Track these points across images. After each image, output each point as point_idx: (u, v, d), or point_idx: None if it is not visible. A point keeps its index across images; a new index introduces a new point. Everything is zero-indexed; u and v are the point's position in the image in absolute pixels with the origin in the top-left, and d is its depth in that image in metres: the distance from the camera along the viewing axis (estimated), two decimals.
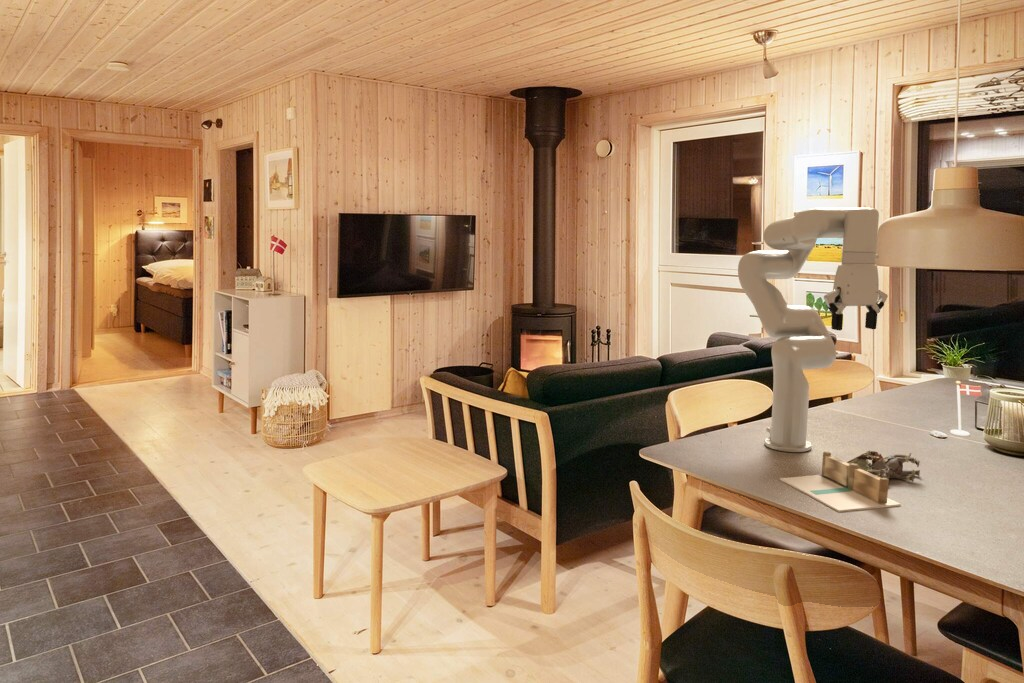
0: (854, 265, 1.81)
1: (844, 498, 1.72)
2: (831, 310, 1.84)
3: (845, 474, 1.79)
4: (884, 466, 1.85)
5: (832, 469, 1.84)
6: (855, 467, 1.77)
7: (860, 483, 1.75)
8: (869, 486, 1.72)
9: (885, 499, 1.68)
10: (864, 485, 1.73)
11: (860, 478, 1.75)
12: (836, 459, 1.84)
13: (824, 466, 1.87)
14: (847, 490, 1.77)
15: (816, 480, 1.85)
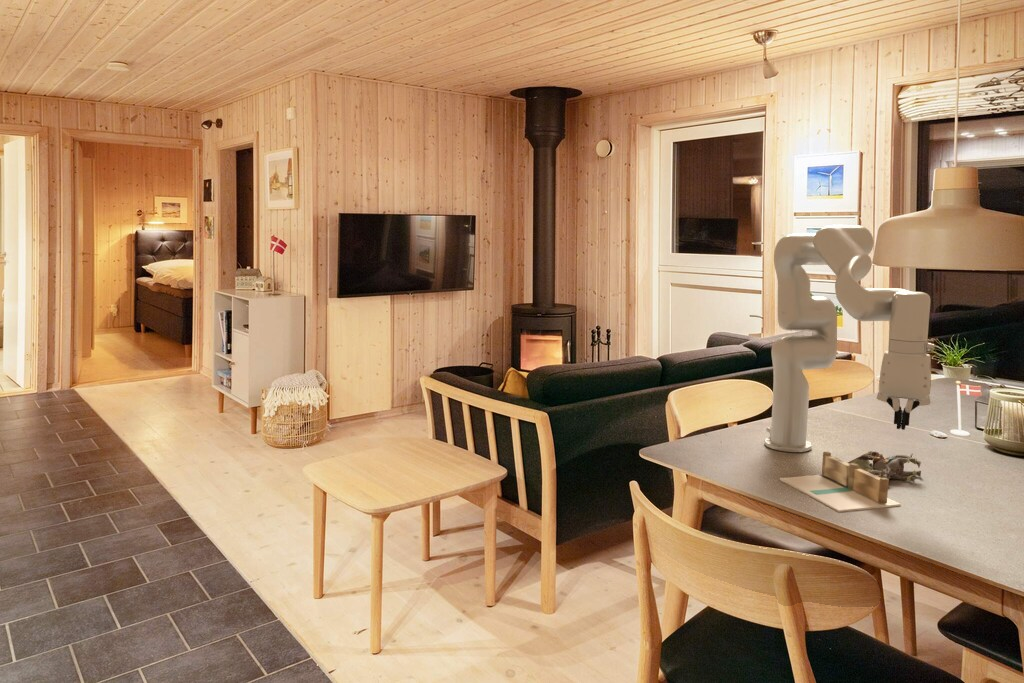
0: (891, 353, 1.67)
1: (844, 498, 1.72)
2: None
3: (845, 474, 1.79)
4: (885, 466, 1.85)
5: (832, 469, 1.84)
6: (855, 467, 1.77)
7: (860, 483, 1.75)
8: (869, 486, 1.72)
9: (885, 499, 1.68)
10: (864, 485, 1.73)
11: (860, 478, 1.75)
12: (836, 459, 1.84)
13: (824, 466, 1.87)
14: (847, 490, 1.77)
15: (816, 480, 1.85)
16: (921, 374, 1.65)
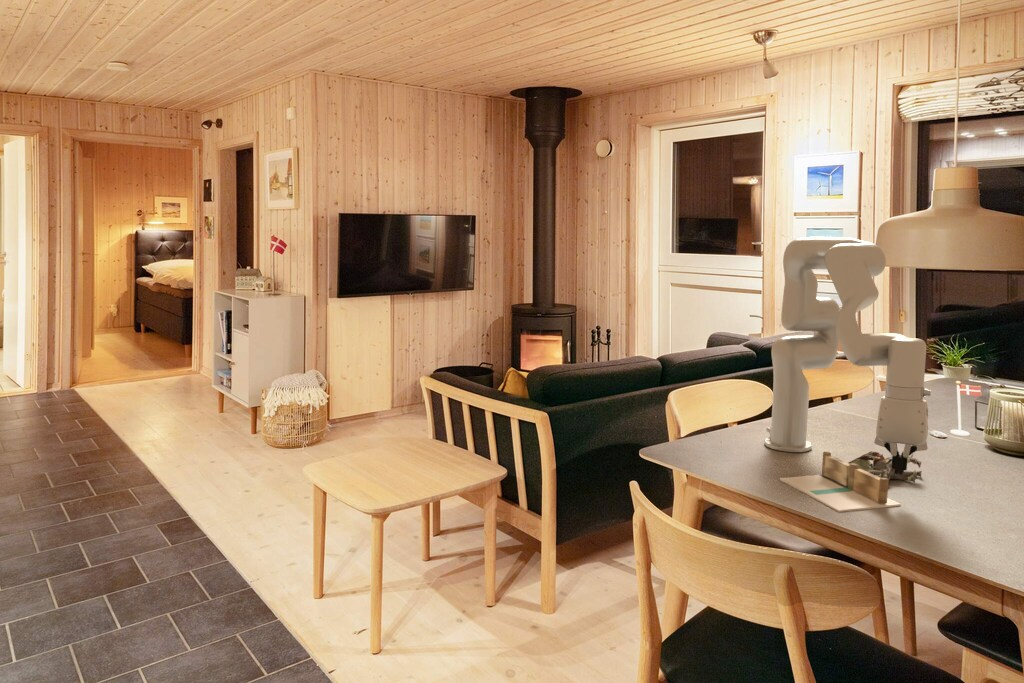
0: (888, 399, 1.69)
1: (844, 498, 1.72)
2: None
3: (845, 474, 1.79)
4: (885, 467, 1.85)
5: (832, 469, 1.84)
6: (855, 467, 1.77)
7: (860, 483, 1.75)
8: (869, 486, 1.72)
9: (885, 499, 1.68)
10: (864, 485, 1.73)
11: (860, 478, 1.75)
12: (836, 459, 1.84)
13: (824, 466, 1.87)
14: (847, 490, 1.77)
15: (816, 480, 1.85)
16: (918, 420, 1.66)
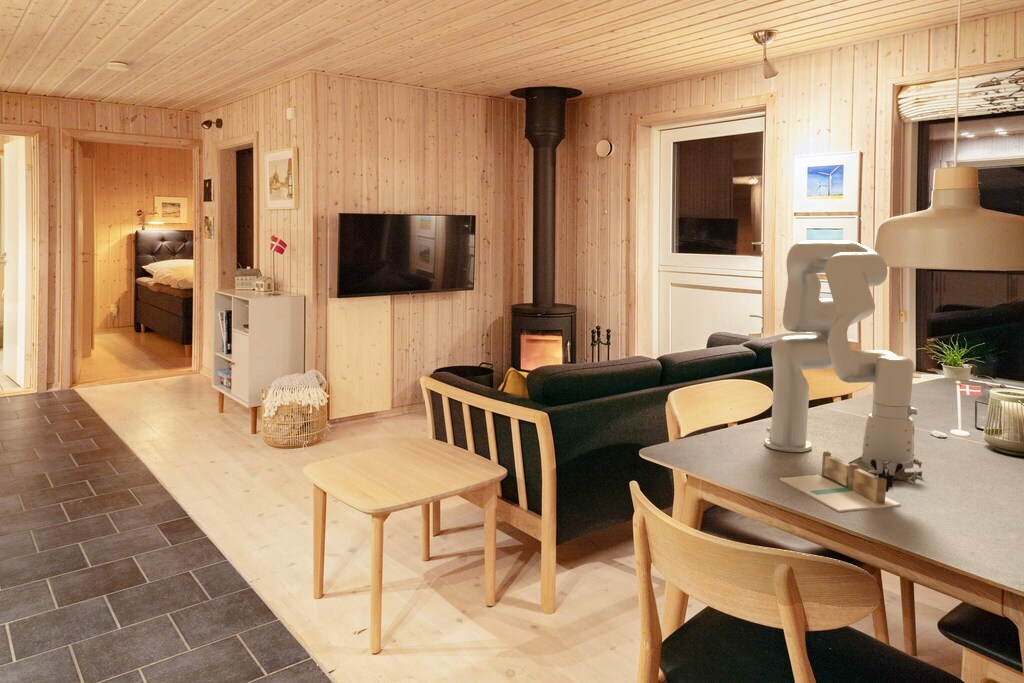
0: (875, 417, 1.69)
1: (844, 498, 1.72)
2: None
3: (845, 474, 1.79)
4: (886, 467, 1.85)
5: (832, 469, 1.84)
6: (855, 467, 1.77)
7: (859, 483, 1.75)
8: (868, 486, 1.72)
9: (883, 499, 1.68)
10: (863, 485, 1.73)
11: (859, 478, 1.75)
12: (836, 459, 1.84)
13: (824, 466, 1.87)
14: (847, 490, 1.77)
15: (816, 480, 1.85)
16: (904, 438, 1.66)
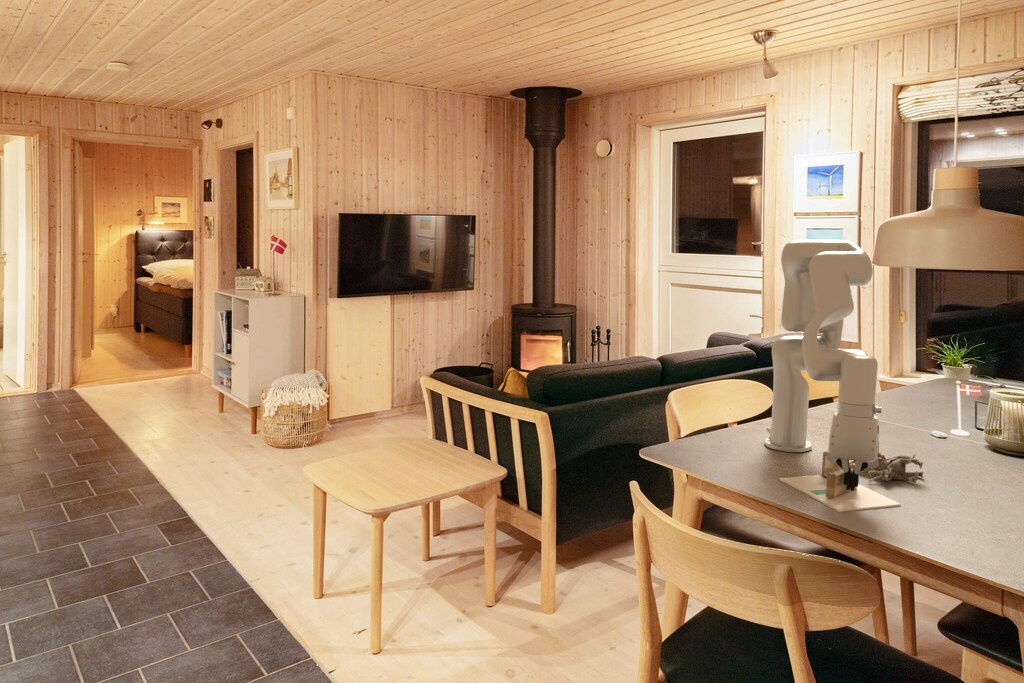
0: (840, 416, 1.69)
1: (844, 498, 1.72)
2: None
3: None
4: (886, 467, 1.85)
5: (832, 469, 1.84)
6: None
7: None
8: None
9: (828, 493, 1.72)
10: None
11: None
12: None
13: (824, 466, 1.87)
14: None
15: (816, 480, 1.85)
16: (869, 437, 1.66)
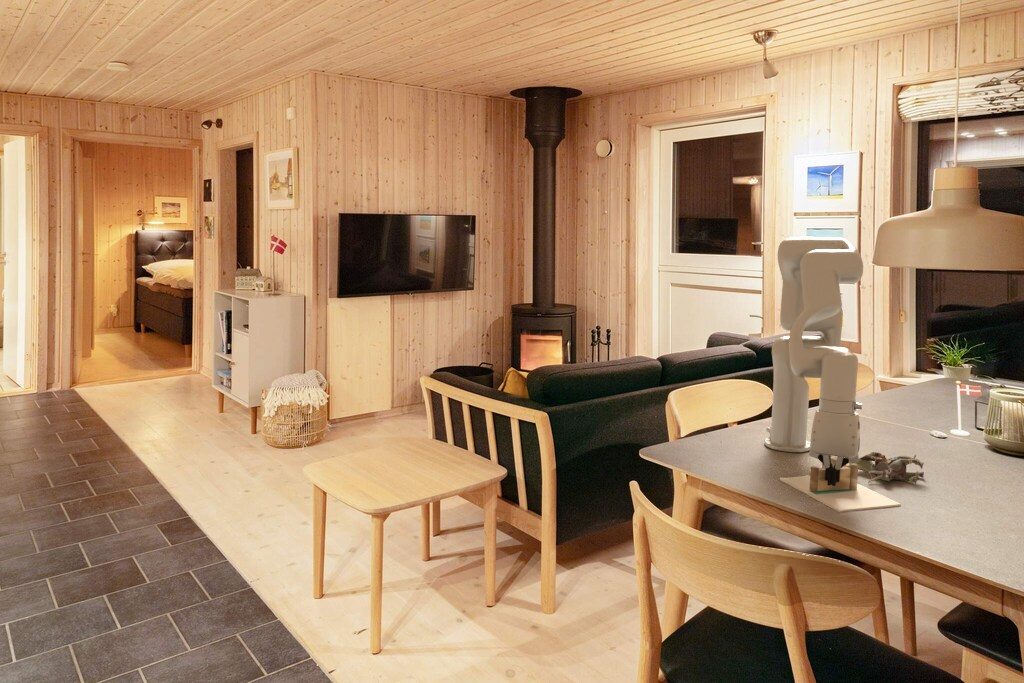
0: (821, 412, 1.71)
1: (844, 498, 1.72)
2: None
3: None
4: (887, 467, 1.84)
5: None
6: (855, 467, 1.77)
7: None
8: None
9: (810, 486, 1.76)
10: None
11: None
12: (836, 459, 1.84)
13: None
14: (847, 490, 1.77)
15: None
16: (849, 433, 1.69)
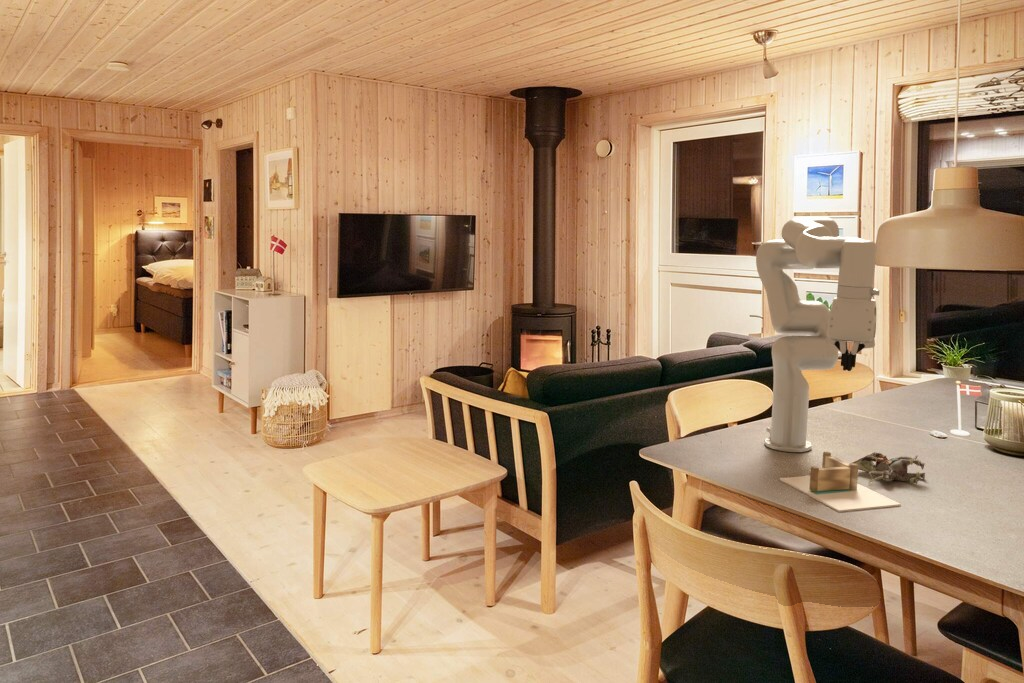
0: (839, 299, 1.76)
1: (844, 498, 1.72)
2: None
3: None
4: (887, 468, 1.84)
5: None
6: (855, 467, 1.77)
7: None
8: None
9: (810, 486, 1.76)
10: None
11: None
12: (836, 459, 1.84)
13: (824, 466, 1.87)
14: (847, 490, 1.77)
15: None
16: (866, 318, 1.74)
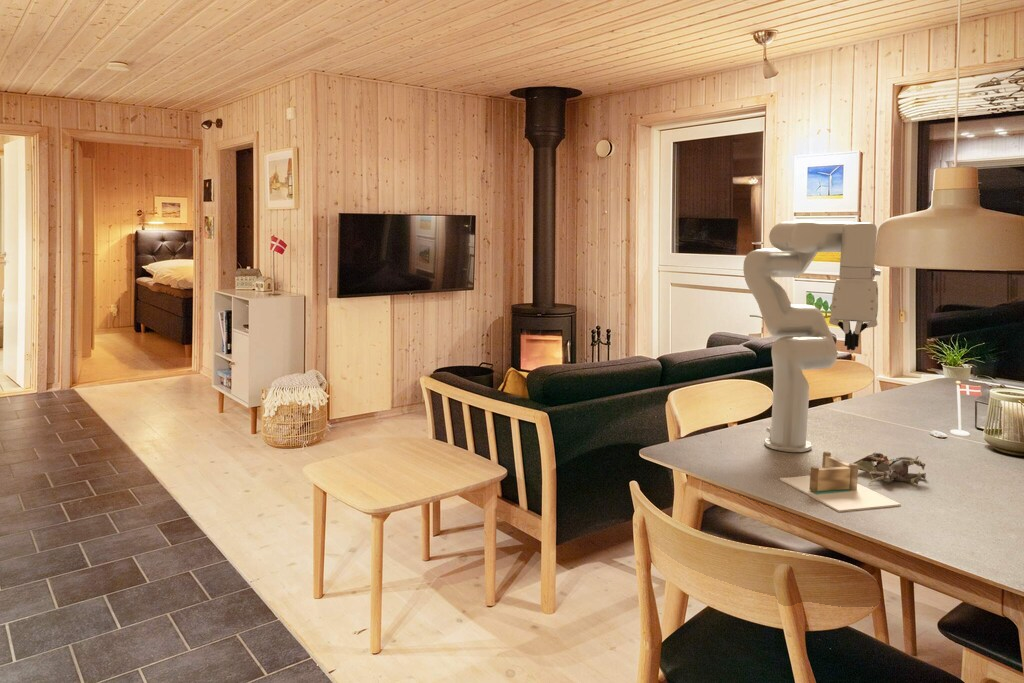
0: (841, 279, 1.82)
1: (844, 498, 1.72)
2: None
3: None
4: (888, 468, 1.84)
5: None
6: (855, 467, 1.77)
7: None
8: None
9: (810, 486, 1.76)
10: None
11: None
12: (836, 459, 1.84)
13: (824, 466, 1.87)
14: (847, 490, 1.77)
15: None
16: (868, 297, 1.79)
